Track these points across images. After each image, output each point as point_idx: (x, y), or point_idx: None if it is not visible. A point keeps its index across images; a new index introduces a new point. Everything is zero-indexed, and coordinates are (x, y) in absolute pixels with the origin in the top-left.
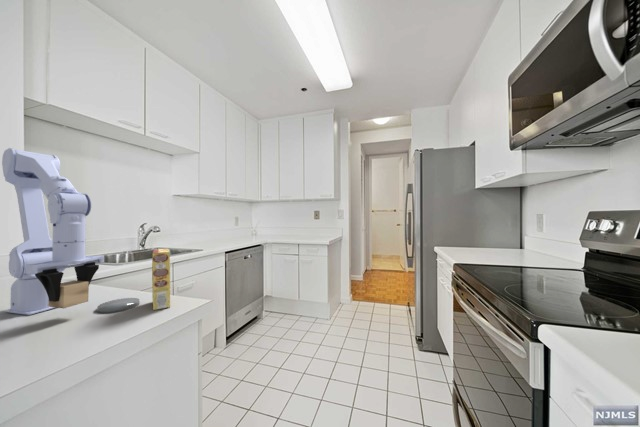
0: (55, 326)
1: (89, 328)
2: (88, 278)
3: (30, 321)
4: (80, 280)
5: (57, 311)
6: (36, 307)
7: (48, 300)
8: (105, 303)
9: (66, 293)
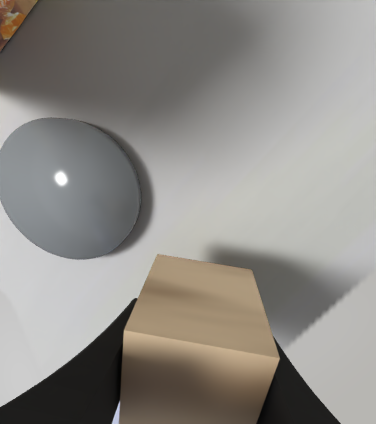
0: (264, 243)
1: (287, 92)
2: (99, 364)
3: None
4: (114, 395)
5: None
6: None
7: None
8: (83, 248)
9: (253, 316)
